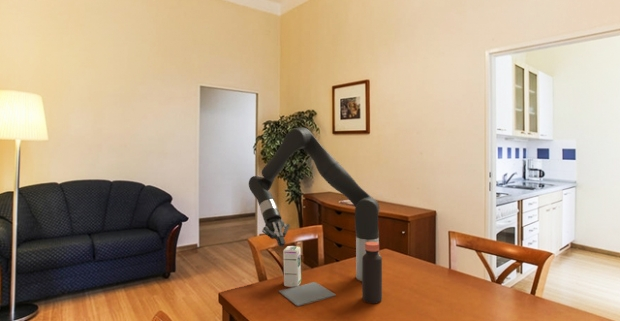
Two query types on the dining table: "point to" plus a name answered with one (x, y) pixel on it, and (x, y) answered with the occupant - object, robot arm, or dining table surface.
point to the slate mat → (306, 293)
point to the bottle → (372, 273)
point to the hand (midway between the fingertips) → (282, 245)
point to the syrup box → (292, 266)
